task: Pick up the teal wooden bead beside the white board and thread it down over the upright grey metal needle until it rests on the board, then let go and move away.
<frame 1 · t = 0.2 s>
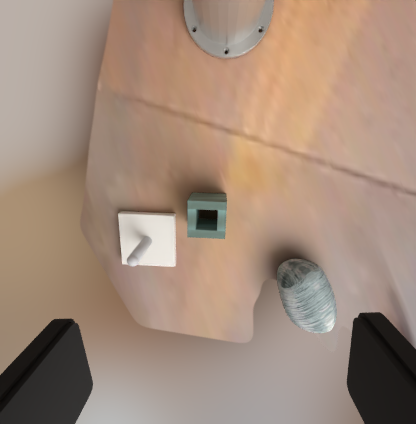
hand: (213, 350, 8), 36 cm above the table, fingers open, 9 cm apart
spool: (299, 282, 48), on the table
needle stand: (149, 237, 47), on the table
bead: (208, 209, 44), on the table
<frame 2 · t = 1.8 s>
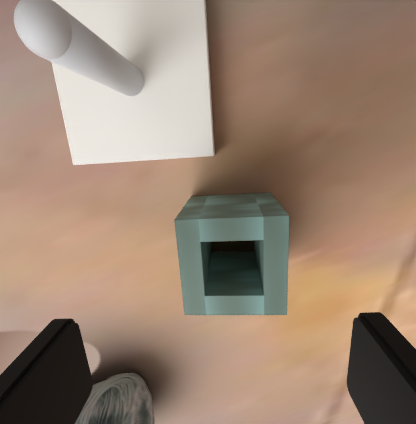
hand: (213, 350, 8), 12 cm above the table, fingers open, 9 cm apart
spool: (105, 395, 26), on the table
needle stand: (138, 85, 17), on the table
bead: (231, 231, 20), on the table
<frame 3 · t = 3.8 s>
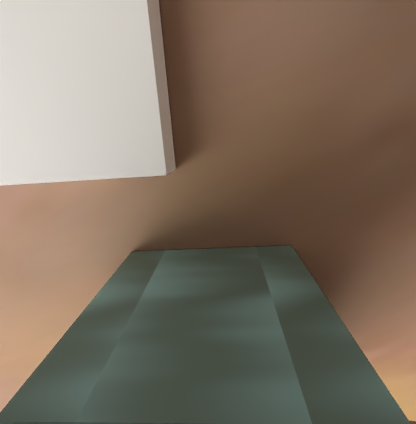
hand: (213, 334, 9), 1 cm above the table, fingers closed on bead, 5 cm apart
bead: (214, 316, 10), on the table, touching gripper
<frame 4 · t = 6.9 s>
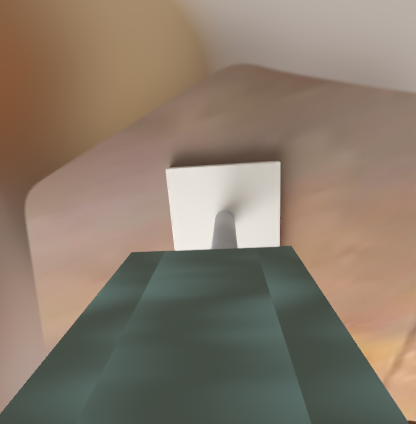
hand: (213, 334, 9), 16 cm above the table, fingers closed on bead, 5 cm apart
needle stand: (224, 215, 24), on the table
bead: (214, 317, 10), point 15 cm above the table, touching gripper
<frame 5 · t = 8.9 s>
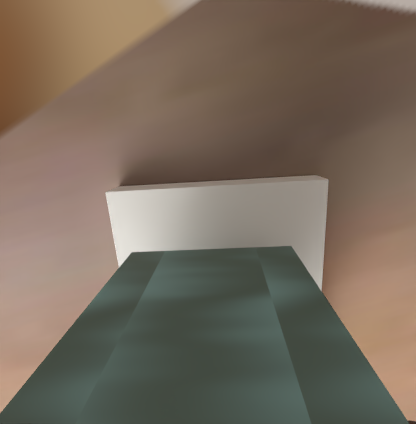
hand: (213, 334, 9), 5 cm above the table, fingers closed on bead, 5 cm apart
needle stand: (219, 269, 14), on the table
bead: (214, 316, 10), point 4 cm above the table, touching gripper
when the fingers open (4 cm above the table, at t = 10.3 s): bead drops 2 cm, resting on needle stand.
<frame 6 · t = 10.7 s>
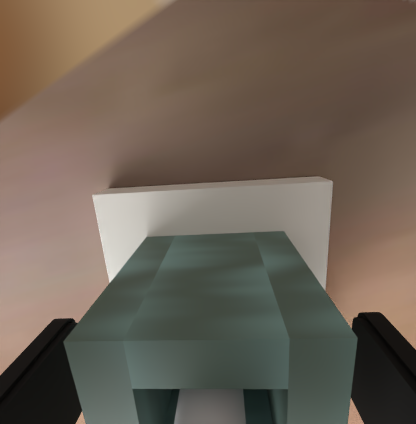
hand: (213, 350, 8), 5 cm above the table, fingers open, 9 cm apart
needle stand: (216, 276, 13), on the table
bead: (217, 293, 12), point 1 cm above the table, touching needle stand
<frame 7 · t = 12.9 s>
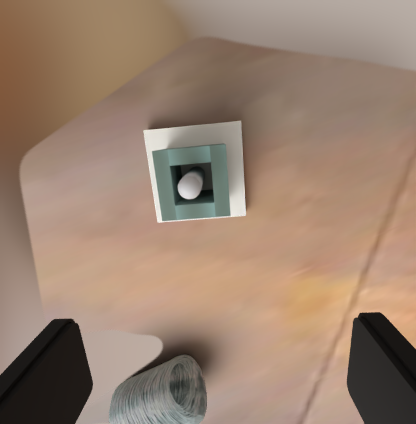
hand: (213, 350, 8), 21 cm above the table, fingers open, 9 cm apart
spool: (164, 373, 37), on the table
needle stand: (197, 173, 28), on the table
bead: (197, 174, 26), point 1 cm above the table, touching needle stand
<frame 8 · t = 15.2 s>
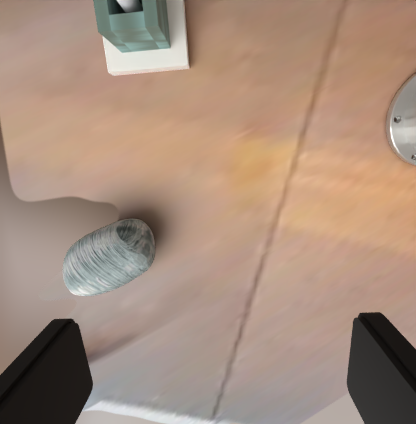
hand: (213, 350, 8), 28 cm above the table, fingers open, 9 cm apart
spool: (121, 245, 39), on the table
needle stand: (145, 27, 30), on the table
bead: (142, 21, 29), point 1 cm above the table, touching needle stand
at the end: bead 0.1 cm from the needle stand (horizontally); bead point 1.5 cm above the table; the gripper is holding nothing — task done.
